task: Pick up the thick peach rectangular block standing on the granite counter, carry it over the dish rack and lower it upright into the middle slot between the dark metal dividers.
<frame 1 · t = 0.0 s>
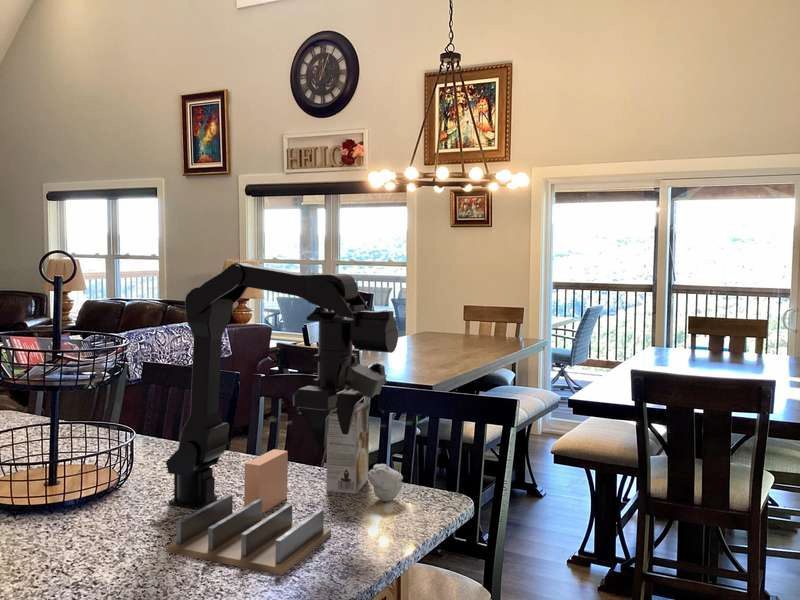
hand: (333, 440, 122), 15 cm above the counter, fingers open, 9 cm apart
coffee box: (347, 486, 144), on the counter
white rounded lump: (384, 501, 135), on the counter
rack base: (252, 543, 114), on the counter
peach rectangular block: (266, 505, 132), on the counter
rack dividers: (252, 526, 114), on the rack base, point 3 cm above the counter
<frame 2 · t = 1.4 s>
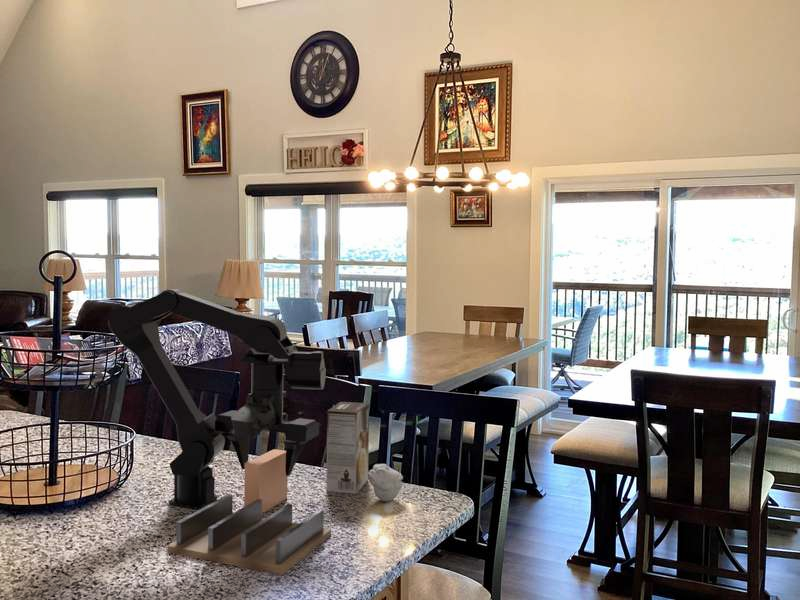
hand: (265, 472, 131), 6 cm above the counter, fingers open, 9 cm apart
nothing on the counter moved.
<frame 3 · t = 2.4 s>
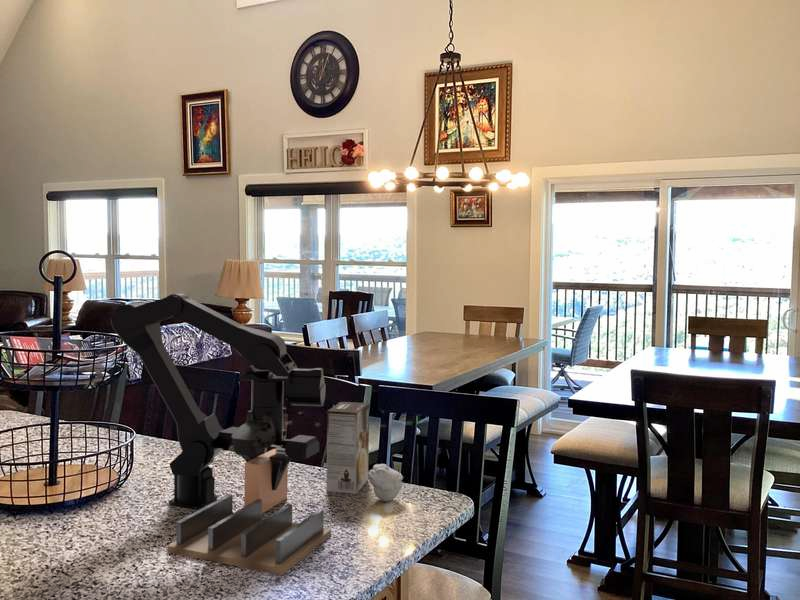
hand: (266, 488, 132), 3 cm above the counter, fingers closed on peach rectangular block, 3 cm apart
peach rectangular block: (266, 504, 132), on the counter, touching gripper
everything else where it was.
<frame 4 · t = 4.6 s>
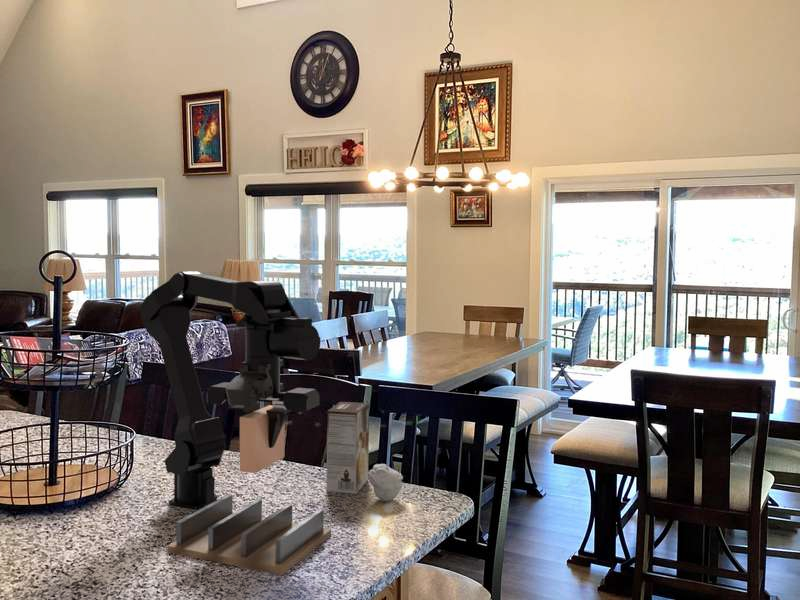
hand: (262, 446, 122), 13 cm above the counter, fingers closed on peach rectangular block, 3 cm apart
peach rectangular block: (262, 463, 123), point 10 cm above the counter, touching gripper
everything else where it was.
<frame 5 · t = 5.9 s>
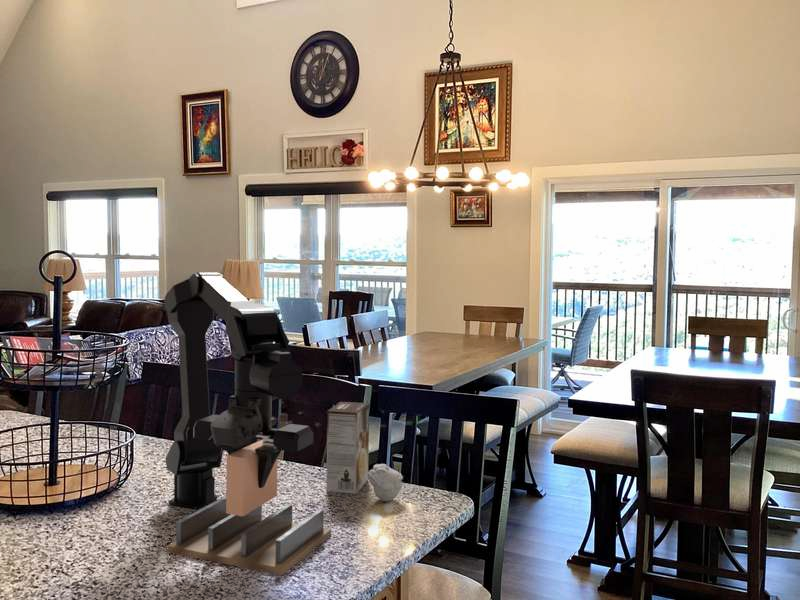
hand: (252, 485, 114), 9 cm above the counter, fingers closed on peach rectangular block, 3 cm apart
peach rectangular block: (252, 504, 114), point 6 cm above the counter, touching gripper
everything else where it was.
when the fingers open (5 cm above the counter, at t = 6.8 s): peach rectangular block drops 1 cm, resting on rack base.
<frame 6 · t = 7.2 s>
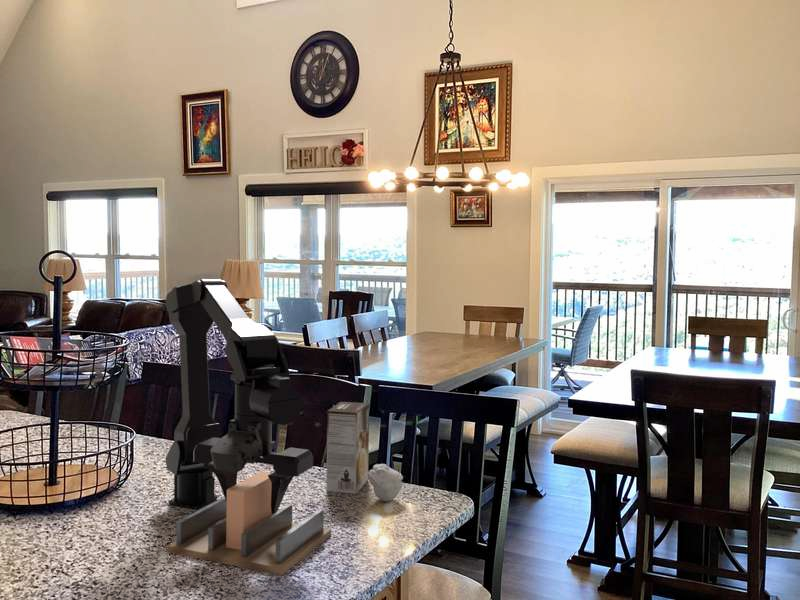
hand: (252, 509, 114), 5 cm above the counter, fingers open, 8 cm apart
peach rectangular block: (252, 536, 114), point 1 cm above the counter, touching rack base
everything else where it was.
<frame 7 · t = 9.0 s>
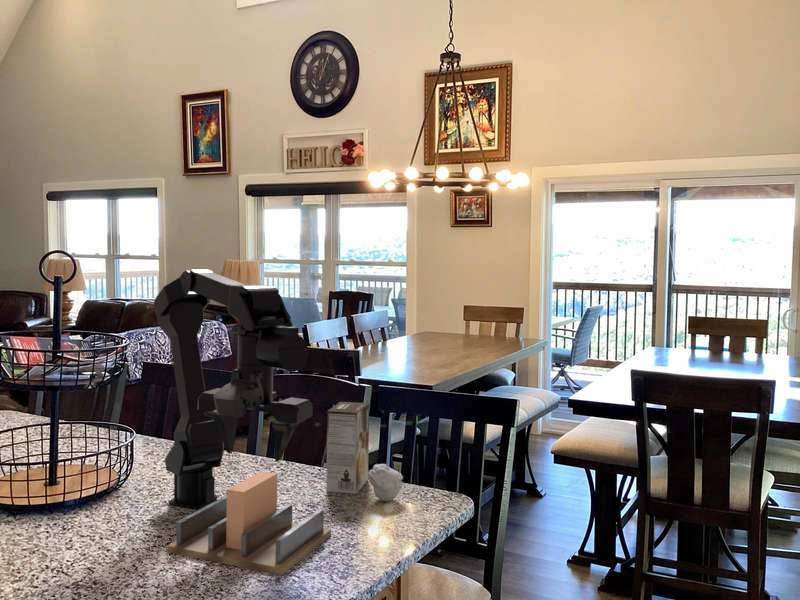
hand: (253, 456, 118), 13 cm above the counter, fingers open, 9 cm apart
nothing on the counter moved.
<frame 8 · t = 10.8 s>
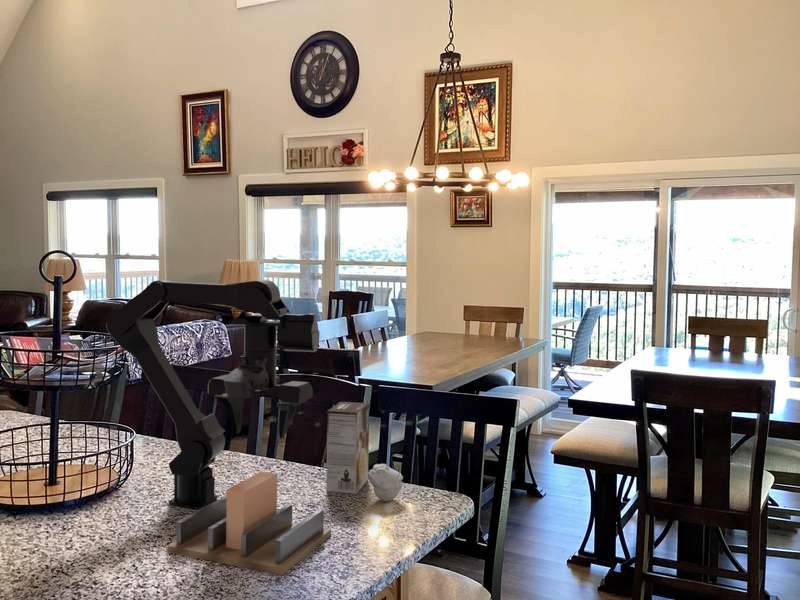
hand: (259, 435, 130), 13 cm above the counter, fingers open, 9 cm apart
nothing on the counter moved.
at the end: peach rectangular block 0.1 cm off-centre on the rack base, point 1.0 cm above the rack base's base; peach rectangular block tilted 0°; the gripper is holding nothing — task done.
